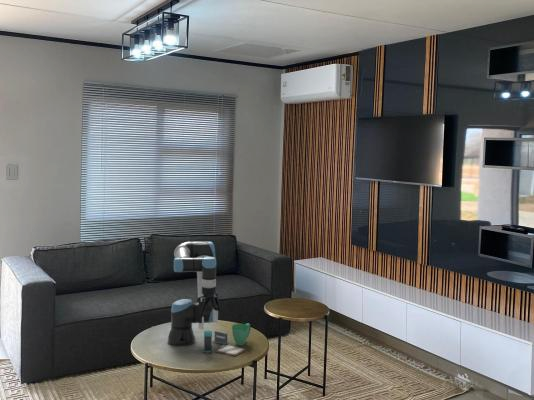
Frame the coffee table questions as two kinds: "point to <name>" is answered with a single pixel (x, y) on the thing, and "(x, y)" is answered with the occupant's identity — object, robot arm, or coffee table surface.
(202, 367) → the coffee table surface
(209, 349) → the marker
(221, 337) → the gray bookend
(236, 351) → the clipboard
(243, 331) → the mug
